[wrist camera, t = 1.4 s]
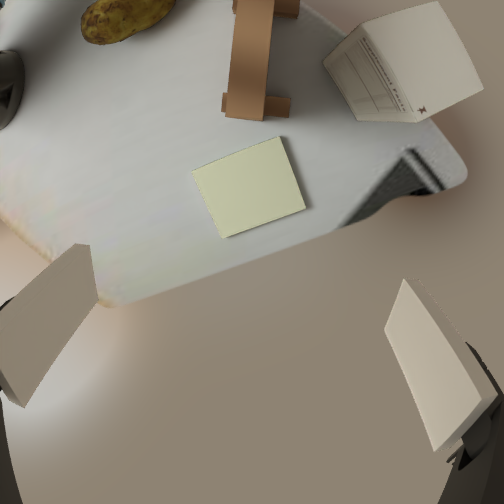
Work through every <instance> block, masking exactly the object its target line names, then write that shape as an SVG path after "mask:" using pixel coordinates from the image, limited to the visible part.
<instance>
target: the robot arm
mask: <svg viewBox="0 0 504 504" xmlns="http://www.w3.org/2000/svg"><path fill="white" fill-rule="evenodd" d="M5 1H6V0H0V10H1V8H3V7H4V5H5ZM23 87H24V67H23V63H22V60H21V58H20V57H19V55H18V54H17V53H15V52H13V51H5V50H2V51H0V130H1V129H3V128H4V127H5V126H6V125H7V124H8V123H9V122H10V121H11V119H12V118H13V116H14V114H15V112H16V110H17V108H18V106H19V103H20V100H21V96H22V92H23ZM97 302H98V294H97V289H96V284H95V278H94V272H93V266H92V259H91V252H90V245H83V244H74V245H73V246H72V247H71V248H69V249H68V250H67V251H66V252H65V253H63V254H62V255H61V256H60V257H59V258H57V259H56V260H55V261H54V262H53V263H52V264H50V265H49V266H48V267H47V268H46V269H45V270H43V271H42V272H41V273H40V274H39V275H38V276H37V277H36V278H35V279H33V280H32V281H31V282H30V283H29V284H28V285H27V286H26V287H25V288H24V289H23V290H21V291H20V292H19V293H18V294H17V295H16V296H15V297H13V298H11V299H10V300H8V301H6V302H5V303H4V304H3V305H2V306H1V307H0V391H1V390H3V392H4V393H5V395H6V396H7V397H8V399H9V401H11V402H13V403H15V404H17V405H19V406H21V407H23V408H25V406H26V405H27V403H28V401H29V400H30V398H31V396H32V395H33V393H34V391H35V390H36V388H37V387H38V385H39V384H40V382H41V381H42V379H43V377H44V376H45V374H46V373H47V371H48V370H49V368H50V367H51V365H52V364H53V362H54V361H55V359H56V358H57V356H58V355H59V354H60V352H61V351H62V349H63V348H64V346H65V345H66V343H67V342H68V341H69V339H70V338H71V337H72V335H73V334H74V332H75V331H76V330H77V328H78V327H79V325H80V324H81V323H82V321H83V320H84V319H85V317H86V316H87V315H88V313H89V312H90V311H91V309H92V308H93V307H94V305H95V304H96V303H97ZM384 331H385V333H386V336H387V338H388V340H389V342H390V344H391V346H392V348H393V351H394V353H395V355H396V357H397V360H398V362H399V364H400V366H401V368H402V371H403V373H404V376H405V378H406V380H407V383H408V385H409V387H410V390H411V392H412V395H413V397H414V400H415V402H416V405H417V407H418V410H419V412H420V414H421V418H422V420H423V423H424V425H425V428H426V431H427V434H428V436H429V439H430V442H431V445H432V448H433V450H434V452H437V451H441V450H444V449H447V448H451V447H452V446H453V445H454V444H455V443H456V442H457V441H458V440H459V439H460V438H462V440H463V443H464V444H463V445H462V446H461V447H460V448H459V449H458V450H457V451H456V452H454V453H453V454H452V455H451V456H450V457H449V458H448V460H447V463H449V462H450V461H451V460H452V459H454V458H455V457H456V459H455V462H454V463H452V465H453V468H452V470H451V473H450V475H449V478H448V481H447V483H446V486H445V488H444V490H443V493H442V495H441V497H440V500H439V502H438V504H504V394H503V392H502V391H501V389H500V387H499V386H498V384H497V382H496V381H495V379H494V378H493V376H492V374H491V373H490V371H489V370H487V367H486V365H485V364H484V362H482V359H481V357H480V356H479V354H478V353H477V352H476V350H475V349H474V348H472V346H470V345H469V344H468V343H467V342H465V341H464V340H463V339H462V337H461V336H460V334H459V333H458V331H457V330H456V328H455V327H454V326H453V324H452V323H451V322H450V320H449V319H448V317H447V316H446V315H445V313H444V312H443V311H442V309H441V308H440V307H439V305H438V304H437V303H436V301H435V300H434V299H433V297H432V296H431V295H430V294H429V292H428V291H427V290H426V289H425V287H424V286H423V285H422V284H421V282H420V281H419V280H418V279H409V278H404V279H403V281H402V285H401V287H400V290H399V293H398V296H397V298H396V301H395V303H394V306H393V309H392V311H391V314H390V317H389V319H388V321H387V324H386V326H385V329H384ZM0 504H23V503H22V500H21V497H20V494H19V490H18V487H17V483H16V479H15V475H14V471H13V468H12V463H11V458H10V454H9V449H8V443H7V438H6V432H5V425H4V418H3V410H2V402H1V398H0Z"/></svg>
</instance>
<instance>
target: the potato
mask: <svg viewBox="0 0 504 504" xmlns="http://www.w3.org/2000/svg"><path fill="white" fill-rule="evenodd" d="M175 2H176V0H98V1H96V2H95V3H94V4H92V5H91V6H89V7H88V8H87V10H86V12H85V13H84V14H83V15H82V18H81V31H82V35H83V37H84V39H85V40H86V41H88V42H90V43H93V44H98V45H105V44H112V43H116V42H119V41H120V42H121V41H123V40H125V39H126V38H128V37H130V36H132V35H134V34H135V33H137V32H139V31H141V30H145V29H147V28H149V27H151V26H152V25H154V24H155V23H157V22H158V21H159V20H161V19H162V18H163V17H164V16H165V15H166V14H167V13H168V12H169V11H170V10H171V8H172V7H173V6H174V4H175Z"/></svg>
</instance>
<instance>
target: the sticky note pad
mask: <svg viewBox="0 0 504 504" xmlns="http://www.w3.org/2000/svg"><path fill="white" fill-rule="evenodd" d="M192 175H193V177H194V179H195V181H196V183H197V186H198V188H199V190H200V192H201V194H202V197H203V199H204V201H205V203H206V205H207V208H208V210H209V212H210V214H211V216H212V218H213V221H214V223H215V225H216V227H217V229H218V231H219V234H220V236H221V238H222V239H223V238H226V237H228V236H231V235H234V234H237V233H239V232H242V231H245V230H248V229H250V228H253V227H256V226H259V225H261V224H264V223H267V222H270V221H272V220H275V219H278V218H281V217H284V216H286V215H289V214H292V213H295V212H298V211H301V210H303V209H306V207H305V204H304V201H303V198H302V195H301V193H300V190H299V187H298V184H297V181H296V179H295V176H294V173H293V171H292V168H291V165H290V163H289V160H288V157H287V155H286V152H285V150H284V147H283V145H282V142H281V139H280V137H279V136H278V137H275V138H273V139H270V140H267V141H264V142H262V143H259V144H256V145H254V146H251V147H249V148H246V149H244V150H241V151H238V152H236V153H233V154H231V155H229V156H226V157H224V158H221V159H219V160H216V161H214V162H212V163H209V164H207V165H205V166H202V167H200V168H198V169H195V170H193V171H192Z"/></svg>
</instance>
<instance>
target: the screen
mask: <svg viewBox="0 0 504 504" xmlns="http://www.w3.org/2000/svg"><path fill="white" fill-rule="evenodd" d="M299 4H300V0H233V7H232V9H233V13H234V14H236V18H235V26H234V35H233V44H232V53H231V62H230V72H229V82H228V92H227V93H223V97H222V109H221V112H226V114H225V117H230V118H237V119H244V120H255V121H263V115H267V116H276V117H285V118H289V109H290V100H291V99H290V98H282V97H274V96H265V93H266V83H267V73H268V63H269V53H270V43H271V34H272V24H273V16H276V17H285V18H293V19H297V17H298V15H299Z"/></svg>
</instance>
